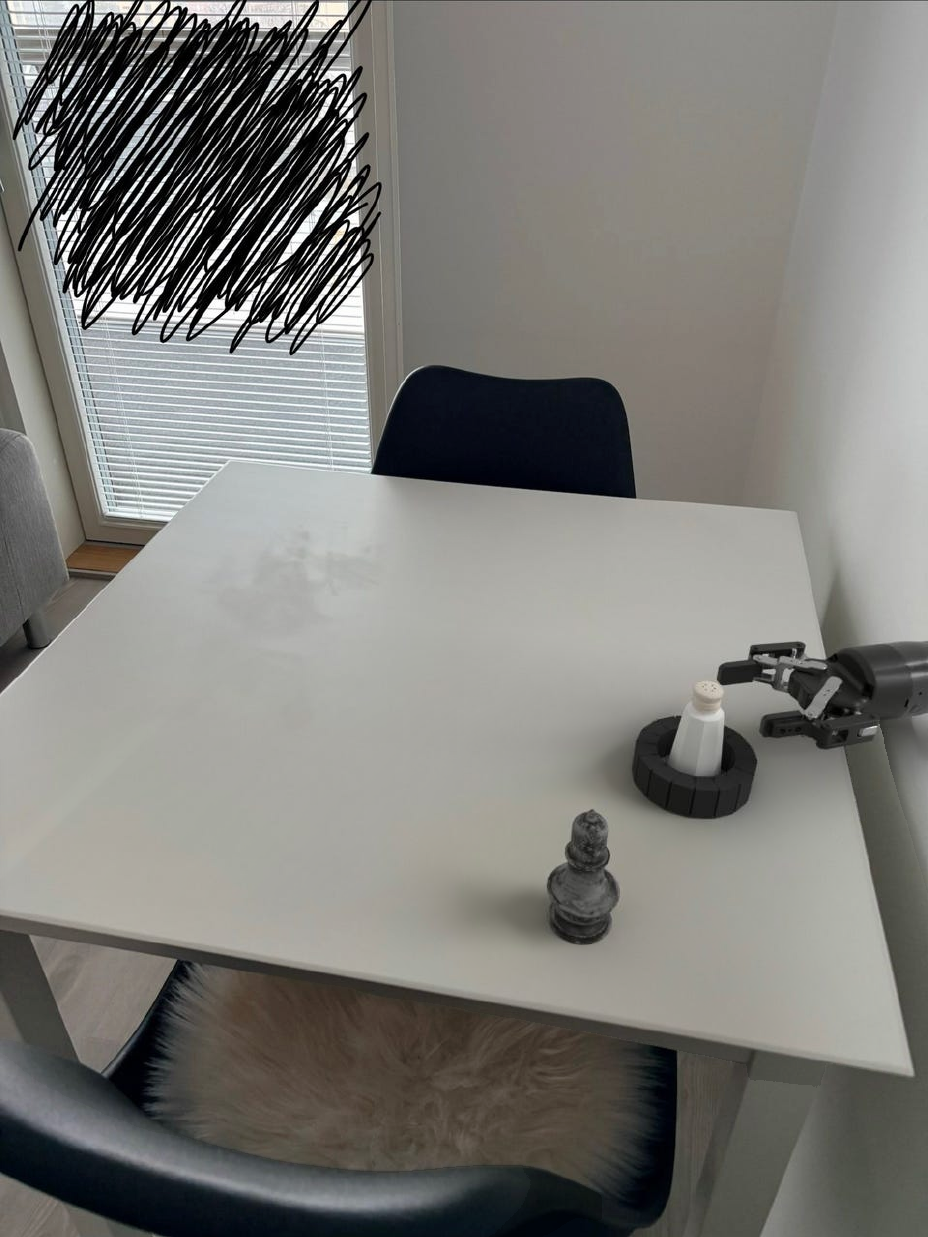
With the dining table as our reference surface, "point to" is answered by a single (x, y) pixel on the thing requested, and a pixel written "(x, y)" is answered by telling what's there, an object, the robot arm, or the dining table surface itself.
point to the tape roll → (687, 790)
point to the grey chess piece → (583, 884)
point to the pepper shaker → (700, 733)
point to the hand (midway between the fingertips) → (739, 699)
